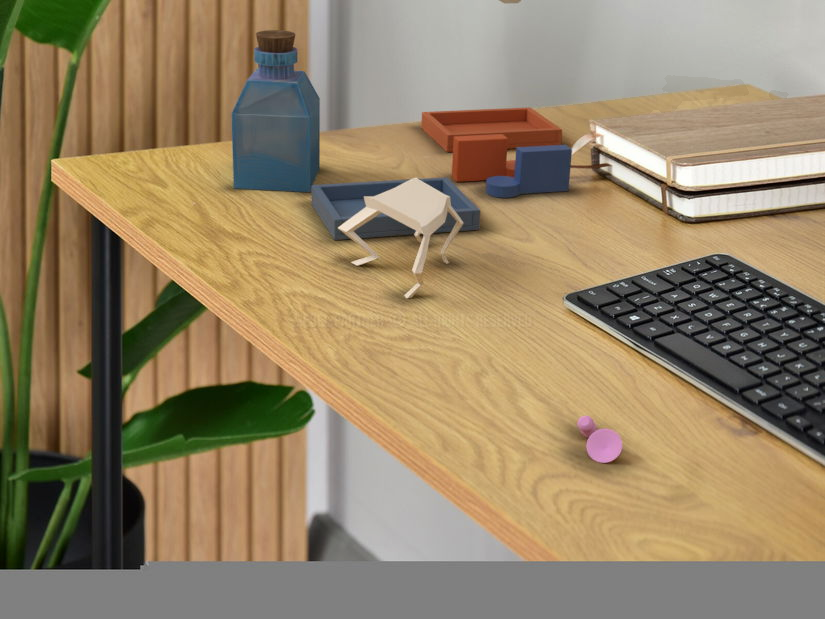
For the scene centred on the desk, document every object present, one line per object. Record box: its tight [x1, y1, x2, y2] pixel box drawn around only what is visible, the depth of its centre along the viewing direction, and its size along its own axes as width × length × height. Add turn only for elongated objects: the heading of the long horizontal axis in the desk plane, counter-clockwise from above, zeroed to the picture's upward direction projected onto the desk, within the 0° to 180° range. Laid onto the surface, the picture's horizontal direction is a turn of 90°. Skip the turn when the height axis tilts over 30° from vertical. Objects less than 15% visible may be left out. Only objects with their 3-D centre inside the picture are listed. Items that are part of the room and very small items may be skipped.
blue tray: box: [310, 176, 481, 241], centre depth 92 cm, size 11×8×2 cm
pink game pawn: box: [576, 415, 623, 464], centre depth 62 cm, size 3×2×2 cm
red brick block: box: [451, 134, 515, 183], centre depth 102 cm, size 7×3×4 cm, turn 106°
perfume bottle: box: [230, 29, 321, 193], centre depth 98 cm, size 6×6×12 cm
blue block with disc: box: [484, 144, 573, 199], centre depth 99 cm, size 7×3×4 cm, turn 106°
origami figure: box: [338, 176, 464, 299], centre depth 82 cm, size 12×8×5 cm
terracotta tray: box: [420, 106, 563, 153], centre depth 114 cm, size 11×8×2 cm
